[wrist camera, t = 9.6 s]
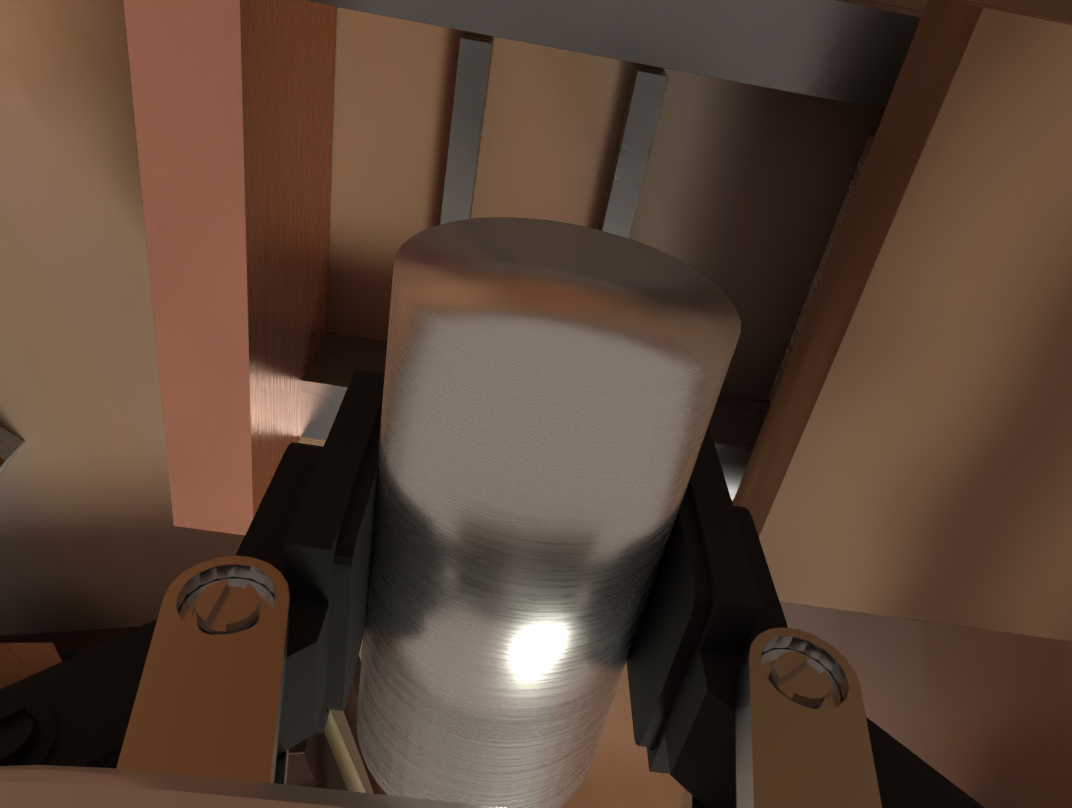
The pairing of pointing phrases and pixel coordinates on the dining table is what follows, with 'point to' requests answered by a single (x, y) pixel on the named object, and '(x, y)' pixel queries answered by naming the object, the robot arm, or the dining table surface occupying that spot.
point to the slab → (939, 351)
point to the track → (305, 192)
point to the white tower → (8, 447)
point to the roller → (524, 496)
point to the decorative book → (309, 762)
